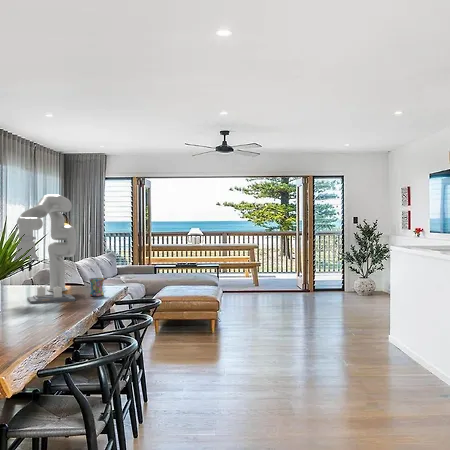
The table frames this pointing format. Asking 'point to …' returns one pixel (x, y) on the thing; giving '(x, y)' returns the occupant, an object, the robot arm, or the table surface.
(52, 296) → the switch bank
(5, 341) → the table surface
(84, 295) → the table surface
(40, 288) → the tab
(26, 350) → the table surface
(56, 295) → the tab
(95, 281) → the mug
